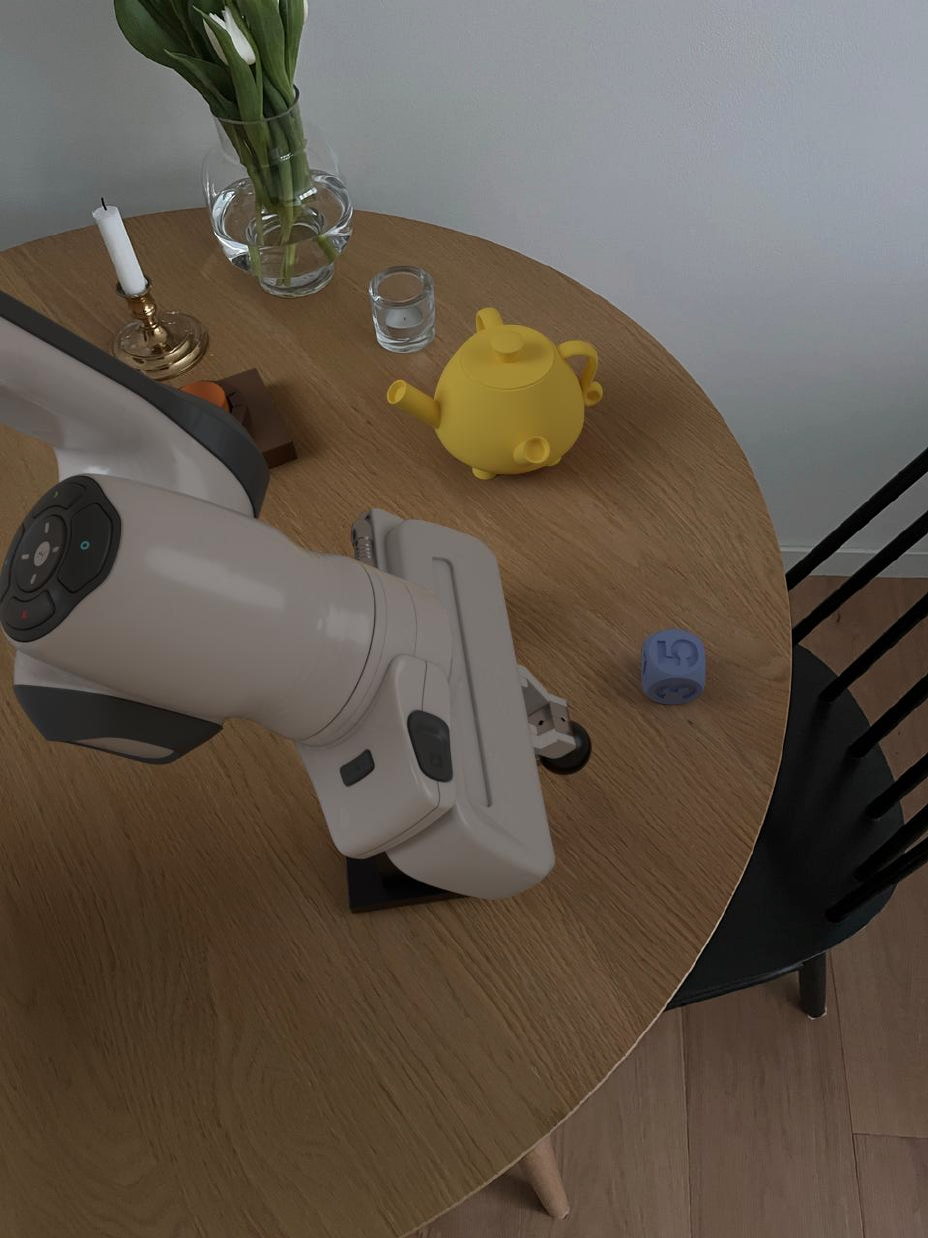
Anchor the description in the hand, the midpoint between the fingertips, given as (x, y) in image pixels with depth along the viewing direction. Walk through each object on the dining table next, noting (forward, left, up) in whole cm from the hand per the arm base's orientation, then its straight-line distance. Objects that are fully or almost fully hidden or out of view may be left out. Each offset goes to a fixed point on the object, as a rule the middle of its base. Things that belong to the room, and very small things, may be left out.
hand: (563, 730), depth 59 cm
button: (-10, +45, -11) cm, 47 cm away
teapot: (+12, +33, -15) cm, 38 cm away
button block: (-10, +45, -15) cm, 48 cm away
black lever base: (-9, +3, -15) cm, 18 cm away
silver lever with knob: (-4, +1, -5) cm, 6 cm away
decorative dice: (+13, +7, -15) cm, 21 cm away
